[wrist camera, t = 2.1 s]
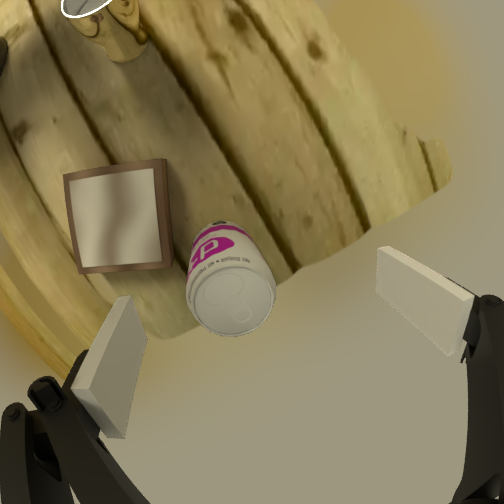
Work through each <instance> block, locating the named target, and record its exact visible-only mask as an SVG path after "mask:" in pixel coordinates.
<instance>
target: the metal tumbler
mask: <svg viewBox="0 0 504 504" xmlns="http://www.w3.org/2000/svg"><path fill="white" fill-rule="evenodd" d="M60 9H61V13H62V14H63V16H65V18H66V19H67V20H68V22H69V23H70V24H71V25H72V27H73V28H74V29H75V30H76V31H77V32H78V33H79V34H81V35H82V36H83V37H84V38H86V39H88V40H90V41H92V42H94V43H96V44H98V45H100V46H102V47H104V48H105V50H106V53H107V55H108V57H109V58H110V59H111V60H113V61H115V62H128V61H131V60H133V59H135V58H136V57H138V56H139V55H140V54H141V53H142V52H143V51H144V50H145V48H146V47H147V44H148V39H149V38H148V34H147V32H146V30H145V29H144V28H143V27H142V26H140V24H139V10H138V3H137V0H62V2H61V7H60Z"/></svg>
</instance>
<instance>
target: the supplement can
mask: <svg viewBox="0 0 504 504" xmlns="http://www.w3.org/2000/svg"><path fill="white" fill-rule="evenodd" d="M186 299H187V306H188V308H189V309H190V311H191V313H192V314H193V316H194V318H195V319H196V320H198V321H199V323H200V324H201V325H202V326H203V327H205V328H206V329H207V330H209V331H210V332H212V333H215V334H218V335H220V336H230V337H236V336H241V335H244V334H248V333H250V332H252V331H254V330H255V329H257V328H259V327H260V326H261V325H262V324H263V323H264V322H265V320H266V319H267V318H268V317H269V315H270V312H271V309H272V307H273V304H274V301H275V299H276V283H275V280H274V278H273V275H272V273H271V270H270V269H269V267H268V265H267V264H266V262H265V260H264V259H263V257H262V255H261V254H260V252H259V250H258V248H257V247H256V245H255V243H254V242H253V240H252V238H251V237H250V235H249V234H248V232H247V231H246V230H245V229H244V228H243V227H242V226H240V225H238V224H236V223H234V222H231V221H221V220H220V221H216V222H212V223H209V224H208V225H206V226H205V227H203V228H202V229H200V231H199V232H198V234H197V235H196V236H195V238H194V241H193V244H192V248H191V255H190V262H189V269H188V276H187V284H186Z"/></svg>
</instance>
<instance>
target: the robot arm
mask: <svg viewBox="0 0 504 504" xmlns="http://www.w3.org/2000/svg"><path fill="white" fill-rule="evenodd" d="M6 56H7V43H6V40H5V39H4V38H3V37H1V36H0V75H1V72H2V70H3V67H4V64H5V60H6ZM376 293H377V294H378V295H379V296H381V297H382V298H383V299H384V300H385V301H386V302H387V303H389V304H390V305H391V306H392V307H393V308H394V309H396V310H397V311H398V312H399V313H400V314H401V315H403V316H404V317H405V318H406V319H407V320H408V321H409V322H411V323H412V324H413V325H414V326H415V327H416V328H417V329H418V330H419V331H421V332H422V333H423V334H424V335H425V336H426V337H427V338H428V339H430V340H431V341H432V342H433V343H434V344H435V345H436V346H437V347H438V348H439V349H441V351H442V352H444V353H445V354H446V355H447V356H450V355H451V354H453V353H455V352H457V351H458V350H459V348H460V346H461V343H462V339H464V340H465V341H466V342H467V345H466V347H465V350H464V353H463V355H462V358H461V363H463V360H464V358H466V364H467V378H468V430H467V445H466V455H465V464H464V471H463V476H462V480H461V482H460V484H459V486H458V488H457V490H456V492H455V494H454V496H453V499H452V502H450V503H449V504H504V301H502V299H500V298H499V297H497V296H494V295H483V296H482V297H481V298H480V297H478V296H477V295H475V294H474V293H472V292H470V291H469V290H467V289H465V288H464V287H461V285H459V284H457V283H455V282H454V281H452V280H450V279H449V278H446V277H443V276H441V275H440V274H438V273H436V272H435V271H433V270H431V269H430V268H428V267H426V266H424V265H422V264H421V263H419V262H417V261H415V260H414V259H412V258H410V257H408V256H406V255H405V254H403V253H401V252H399V251H397V250H395V249H393V248H392V247H390V246H385V247H380V248H377V275H376ZM146 344H147V336H146V334H145V331H144V329H143V326H142V323H141V321H140V318H139V315H138V312H137V310H136V307H135V304H134V301H133V298H132V295H127V296H121V297H118V298H117V300H116V301H115V303H114V305H113V307H112V308H111V310H110V312H109V314H108V315H107V317H106V319H105V321H104V323H103V325H102V326H101V328H100V330H99V332H98V334H97V336H96V338H95V339H94V341H93V343H92V345H91V347H90V349H88V350H84V351H83V352H82V353H81V354H80V355H79V356H78V357H77V359H76V361H75V363H74V364H73V367H72V368H71V370H70V373H69V374H68V376H67V378H66V380H65V382H64V384H63V386H62V388H61V387H60V386H59V384H58V383H57V381H56V380H55V378H54V377H51V376H44V377H41V378H39V379H37V380H36V381H34V382H33V383H32V384H31V385H30V387H29V389H28V394H27V395H28V397H29V398H30V400H31V401H32V402H33V404H34V405H35V406H36V408H37V409H38V410H33V411H28V410H27V409H26V408H25V407H24V405H23V404H22V403H19V402H17V403H13V404H11V405H9V406H8V407H6V409H5V410H4V412H3V415H2V420H1V430H0V493H1V503H2V504H74V500H73V496H72V493H71V489H70V486H71V488H72V490H73V491H74V493H75V495H76V497H77V499H78V500H79V502H80V504H150V503H149V502H148V500H147V499H146V498H145V497H144V496H143V495H142V494H141V492H140V491H139V490H138V489H137V488H136V487H135V485H134V484H133V483H132V482H131V481H130V479H129V478H128V477H127V475H126V474H125V473H124V472H123V470H122V469H121V468H120V466H119V465H118V463H117V462H116V461H115V459H114V458H113V457H112V455H111V454H110V452H109V451H108V449H107V448H106V446H105V445H104V443H103V442H102V441H101V440H100V438H99V437H98V436H99V432H100V429H101V431H102V432H103V433H104V434H105V435H106V436H107V438H122V439H125V435H126V430H127V425H128V420H129V414H130V410H131V405H132V400H133V396H134V392H135V387H136V383H137V379H138V375H139V371H140V366H141V362H142V358H143V355H144V351H145V347H146ZM69 484H70V485H69ZM497 496H499V499H495V498H496V497H497Z"/></svg>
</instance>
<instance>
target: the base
mask: <svg viewBox="0 0 504 504" xmlns="http://www.w3.org/2000/svg"><path fill="white" fill-rule="evenodd" d="M63 181H64V191H65V200H66V208H67V215H68V222H69V228H70V234H71V239H72V245H73V250H74V255H75V259H76V264H77V268H78V272H79V274H90V273H105V272H119V271H133V270H147V269H160V268H172V265H173V261H174V258H175V254H174V246H173V237H172V227H171V217H170V206H169V194H168V179H167V162H166V159H154V160H146V161H138V162H131V163H124V164H117V165H111V166H105V167H99V168H93V169H88V170H83V171H78V172H73V173H68V174H63Z"/></svg>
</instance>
